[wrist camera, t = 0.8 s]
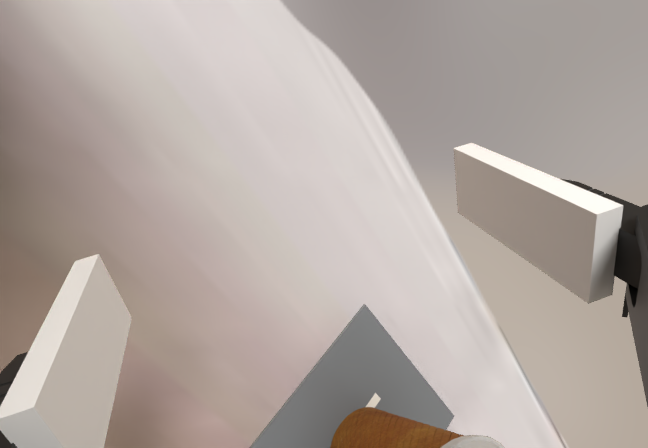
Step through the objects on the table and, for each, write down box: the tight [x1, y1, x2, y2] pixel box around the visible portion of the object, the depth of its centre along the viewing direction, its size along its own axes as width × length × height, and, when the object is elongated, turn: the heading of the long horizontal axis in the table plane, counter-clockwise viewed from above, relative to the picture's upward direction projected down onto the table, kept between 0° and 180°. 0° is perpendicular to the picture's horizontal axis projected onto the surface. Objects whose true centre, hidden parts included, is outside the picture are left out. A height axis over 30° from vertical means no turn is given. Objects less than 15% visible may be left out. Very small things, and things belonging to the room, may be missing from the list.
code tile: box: [250, 305, 454, 448], centre depth 35 cm, size 15×16×1 cm
